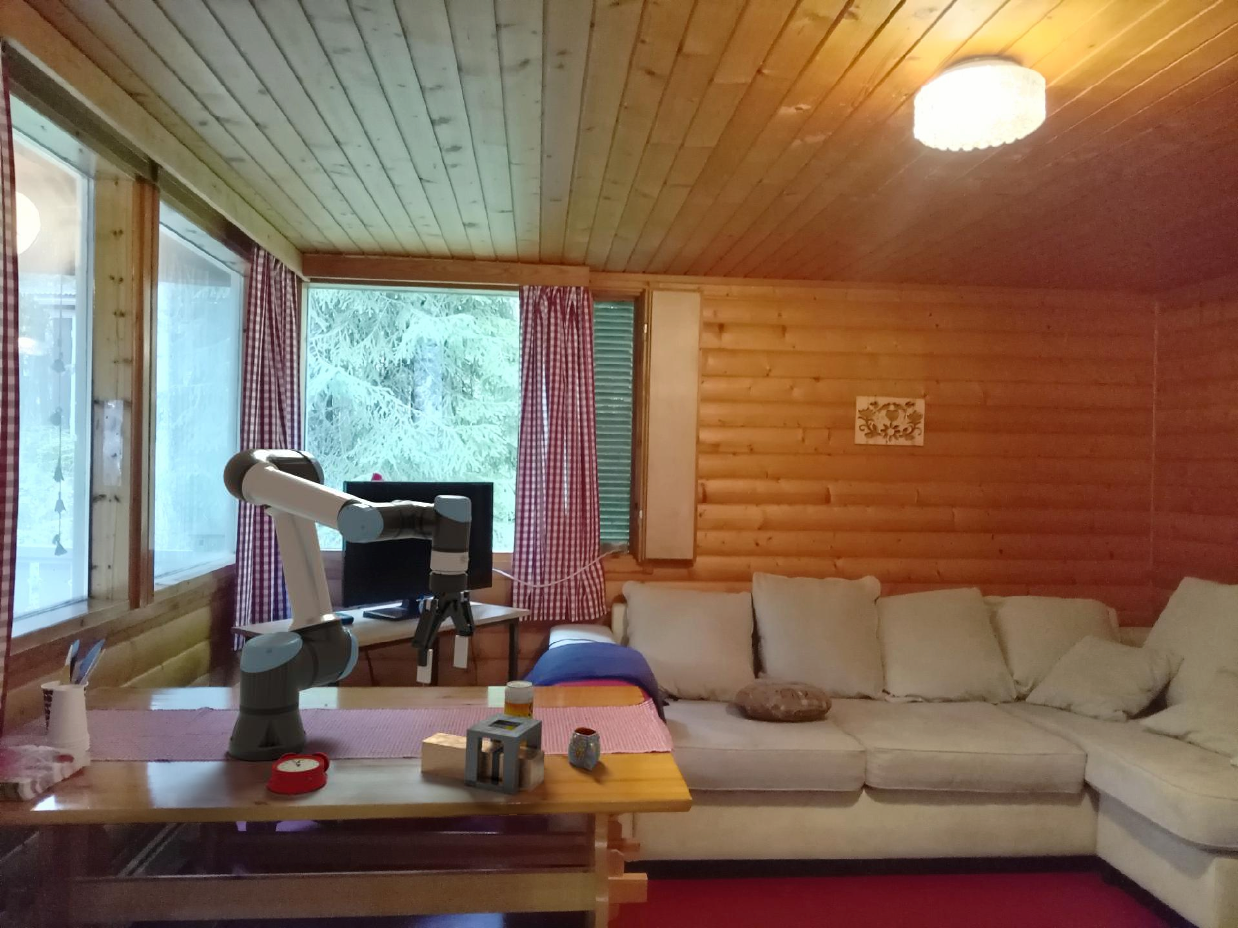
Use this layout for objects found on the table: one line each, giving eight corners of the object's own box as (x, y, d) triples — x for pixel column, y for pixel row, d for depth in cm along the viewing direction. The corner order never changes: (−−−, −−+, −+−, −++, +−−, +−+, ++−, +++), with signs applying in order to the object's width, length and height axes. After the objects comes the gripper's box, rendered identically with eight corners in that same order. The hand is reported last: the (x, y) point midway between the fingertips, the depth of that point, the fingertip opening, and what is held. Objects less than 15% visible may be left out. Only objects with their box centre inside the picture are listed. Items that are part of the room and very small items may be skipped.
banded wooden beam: (420, 771, 169) (421, 740, 169) (437, 761, 175) (438, 731, 175) (530, 791, 161) (531, 759, 161) (543, 780, 167) (544, 749, 167)
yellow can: (526, 760, 178) (528, 688, 178) (498, 757, 179) (501, 686, 179) (534, 750, 184) (537, 681, 184) (507, 747, 185) (510, 678, 185)
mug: (565, 756, 181) (566, 725, 181) (597, 755, 183) (597, 724, 183) (573, 778, 169) (574, 744, 169) (607, 776, 171) (608, 743, 171)
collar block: (464, 785, 163) (466, 729, 163) (493, 765, 174) (495, 712, 174) (513, 794, 159) (516, 737, 159) (540, 773, 170) (542, 720, 170)
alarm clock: (260, 778, 154) (280, 733, 168) (261, 809, 155) (280, 761, 169) (320, 777, 155) (335, 733, 170) (320, 807, 157) (335, 761, 171)
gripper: (430, 580, 161) (423, 691, 162) (495, 566, 185) (488, 663, 185) (397, 576, 164) (390, 685, 165) (465, 562, 187) (458, 658, 188)
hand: (442, 674), depth 175 cm, fingers open, 13 cm apart
